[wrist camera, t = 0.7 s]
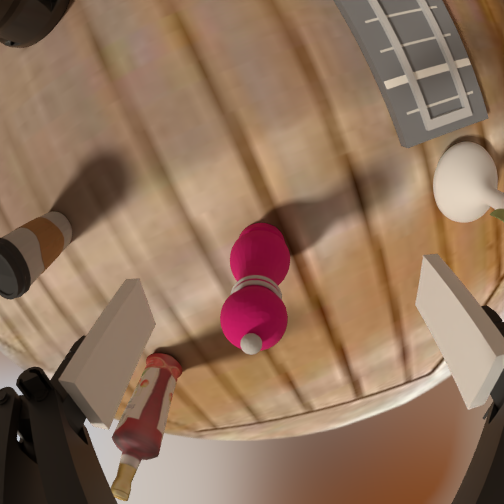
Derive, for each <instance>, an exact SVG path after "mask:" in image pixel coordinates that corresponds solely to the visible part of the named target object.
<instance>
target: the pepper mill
mask: <svg viewBox="0 0 504 504" xmlns="http://www.w3.org/2000/svg"><path fill="white" fill-rule="evenodd" d="M289 265H290V253H289V250H288V247H287V245H286V244H285V240H284V237H283V235H282V233H281V232H280V231H279V230H278V229H277V228H276V227H274V226H273V225H270V224H267V223H255V224H252V225H250V226H248V227H246V228H245V229H244V230H243V231H242V233H241V234H240V236H239V239H238V240H237V241H236V242H235V244H234V245H233V247H232V250H231V254H230V266H231V270H232V273H233V275H234V277H235V279H236V280H237V282H236V284H235V285H234V286H233V288H232V291H231V295H230V296H229V297H228V298H227V300H226V301H225V303H224V305H223V307H222V310H221V316H220V321H221V327H222V330H223V333H224V335H225V336H226V338H227V339H228V340H229V341H230V342H231V343H232V344H233V345H235V346H236V347H238V348H240V349H242V350H243V351H244V352H245V353H247V354H250V355H252V354H256V353H258V352H259V351H261V350H265V349H268V348H270V347H272V346H274V345H275V344H276V343H278V342H279V340H280V339H281V338H282V336H283V334H284V333H285V330H286V327H287V318H288V316H287V311H286V307H285V305H284V303H283V302H282V294H281V291H280V288H279V287H278V285H279V284H280V283H281V282H282V281H283V280H284V278H285V276H286V274H287V272H288V270H289Z"/></svg>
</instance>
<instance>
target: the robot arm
mask: <svg viewBox="0 0 504 504" xmlns="http://www.w3.org/2000/svg"><path fill="white" fill-rule="evenodd" d="M68 3H69V0H0V42H1V43H3V44H4V45H6V46H9V47H17V48H24V47H29V46H31V45H33V44H35V43H37V42H38V41H40V40H41V39H43V38H44V37H45V36H46V35H47V34H48V33H49V32H50V31H51V30H52V29H53V28H54V26H55V25H56V24H57V22H58V21H59V20H60V18H61V16H62V15H63V13H64V11H65V9H66V7H67V5H68ZM415 305H416V307H417V309H418V310H419V312H420V314H421V316H422V317H423V319H424V321H425V323H426V325H427V327H428V328H429V330H430V332H431V334H432V336H433V338H434V340H435V342H436V343H437V345H438V347H439V349H440V351H441V353H442V355H443V357H444V359H445V361H446V363H447V365H448V367H449V369H450V371H451V374H452V376H453V378H454V380H455V382H456V384H457V386H458V388H459V391H460V393H461V395H462V397H463V400H464V402H465V404H466V406H467V409H468V410H469V409H472V408H475V407H478V406H481V405H483V404H484V403H485V402H486V400H487V398H488V397H489V395H491V397H492V399H493V403H492V404H491V406H490V407H489V409H488V410H487V412H486V414H485V415H484V417H483V419H485V418H486V417H487V420H486V423H485V426H484V428H483V431H482V434H481V437H480V440H479V443H478V445H477V448H476V451H475V453H474V456H473V458H472V461H471V463H470V466H469V468H468V470H467V473H466V475H465V477H464V479H463V481H462V484H461V486H460V488H459V490H458V492H457V494H456V496H455V498H454V500H453V502H452V504H504V322H502V319H501V318H500V317H499V315H498V314H497V313H496V312H495V311H494V310H492V309H491V308H490V307H488V306H487V305H486V306H480V305H479V303H478V302H477V301H476V299H475V298H474V297H473V296H472V294H471V293H470V292H469V291H468V289H467V288H466V287H465V286H464V284H463V283H462V282H461V281H460V280H459V278H458V277H457V276H456V275H455V274H454V272H453V271H452V270H451V269H450V268H449V267H448V265H447V264H446V263H445V262H444V261H443V260H442V259H441V258H440V256H439V255H438V254H430V255H423V261H422V268H421V275H420V281H419V287H418V293H417V298H416V304H415ZM155 325H156V323H155V321H154V318H153V315H152V313H151V310H150V307H149V304H148V301H147V298H146V296H145V293H144V290H143V287H142V284H141V281H140V278H139V279H126V280H125V281H124V283H123V284H122V286H121V287H120V288H119V290H118V291H117V292H116V294H115V295H114V297H113V298H112V299H111V301H110V302H109V304H108V305H107V307H106V308H105V309H104V311H103V312H102V314H101V315H100V317H99V318H98V319H97V321H96V322H95V324H94V325H93V327H92V328H91V330H90V331H89V333H88V334H87V336H82V337H81V338H80V339H79V340H78V341H76V342H75V343H74V345H73V346H72V348H71V349H70V351H69V353H68V354H67V355H66V357H65V360H63V361H62V363H61V364H60V366H59V368H58V369H57V371H56V372H55V374H54V375H53V377H52V379H51V380H49V378H48V377H47V375H46V374H45V372H44V371H43V369H41V368H40V367H31V368H28V369H27V370H25V371H24V372H23V373H22V374H21V375H20V376H19V378H18V379H17V383H16V385H17V387H18V388H19V389H20V391H21V392H22V393H23V395H18V394H17V393H16V392H15V390H14V389H13V388H11V387H5V388H2V389H0V504H117V501H116V500H115V497H114V495H113V493H112V491H111V489H110V487H109V484H108V482H107V480H106V477H105V475H104V473H103V470H102V468H101V466H100V463H99V461H98V458H97V456H96V453H95V450H94V448H93V445H92V442H91V439H90V437H89V434H88V431H87V429H86V427H85V426H84V422H85V419H86V418H87V419H88V420H89V422H90V423H91V424H92V425H93V426H94V427H98V428H103V429H108V430H109V428H110V426H111V423H112V421H113V419H114V416H115V414H116V412H117V409H118V407H119V404H120V402H121V400H122V397H123V395H124V393H125V391H126V388H127V386H128V384H129V381H130V379H131V377H132V375H133V372H134V370H135V368H136V366H137V363H138V361H139V359H140V357H141V355H142V353H143V350H144V348H145V346H146V344H147V342H148V340H149V337H150V335H151V333H152V331H153V329H154V327H155ZM487 415H488V416H487ZM17 434H18V435H19V436H20V441H19V442H18V441H17Z"/></svg>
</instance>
